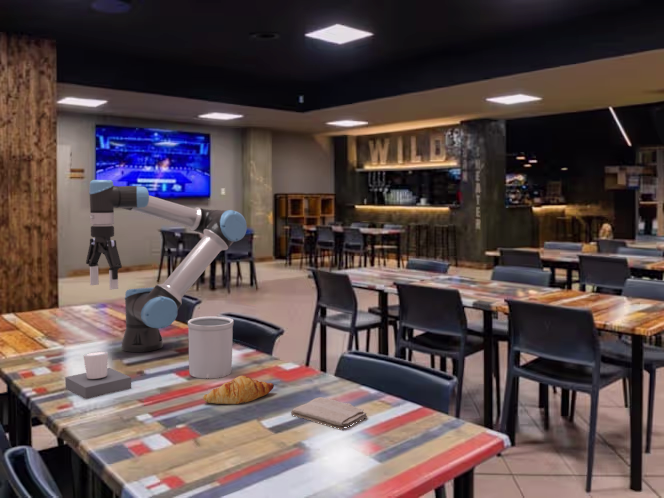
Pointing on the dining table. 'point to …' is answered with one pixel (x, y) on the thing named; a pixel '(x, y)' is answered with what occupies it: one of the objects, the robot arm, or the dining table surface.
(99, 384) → the block
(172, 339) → the dining table surface
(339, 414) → the washcloth
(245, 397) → the croissant
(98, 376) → the shot glass
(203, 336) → the utensil holder
